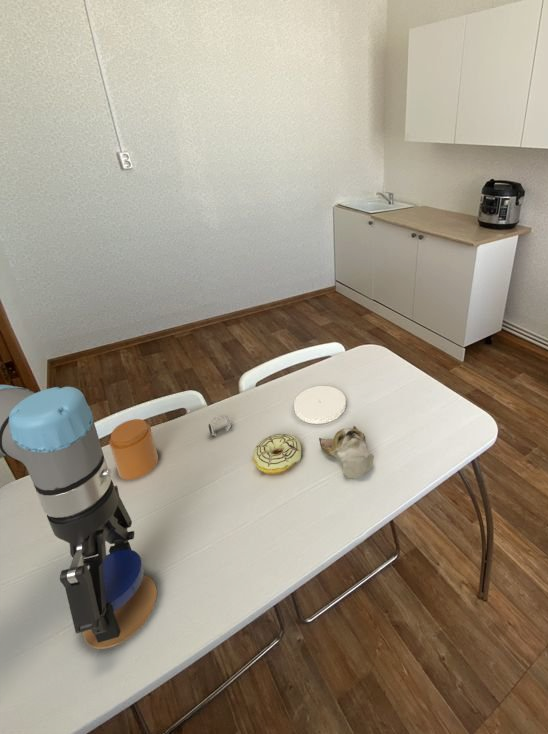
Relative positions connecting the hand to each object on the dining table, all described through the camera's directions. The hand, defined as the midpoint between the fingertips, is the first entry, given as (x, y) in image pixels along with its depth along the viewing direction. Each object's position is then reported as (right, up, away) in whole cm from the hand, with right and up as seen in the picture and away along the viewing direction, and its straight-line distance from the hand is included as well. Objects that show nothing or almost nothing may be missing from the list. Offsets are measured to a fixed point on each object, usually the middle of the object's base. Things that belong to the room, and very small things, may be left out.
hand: (119, 602), depth 60 cm
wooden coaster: (0, -2, +1) cm, 2 cm away
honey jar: (-13, +8, +28) cm, 31 cm away
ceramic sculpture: (+35, +9, +28) cm, 46 cm away
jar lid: (0, +5, -2) cm, 6 cm away
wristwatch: (+3, +11, +37) cm, 39 cm away
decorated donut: (+19, +9, +29) cm, 36 cm away
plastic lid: (+27, +15, +45) cm, 55 cm away
